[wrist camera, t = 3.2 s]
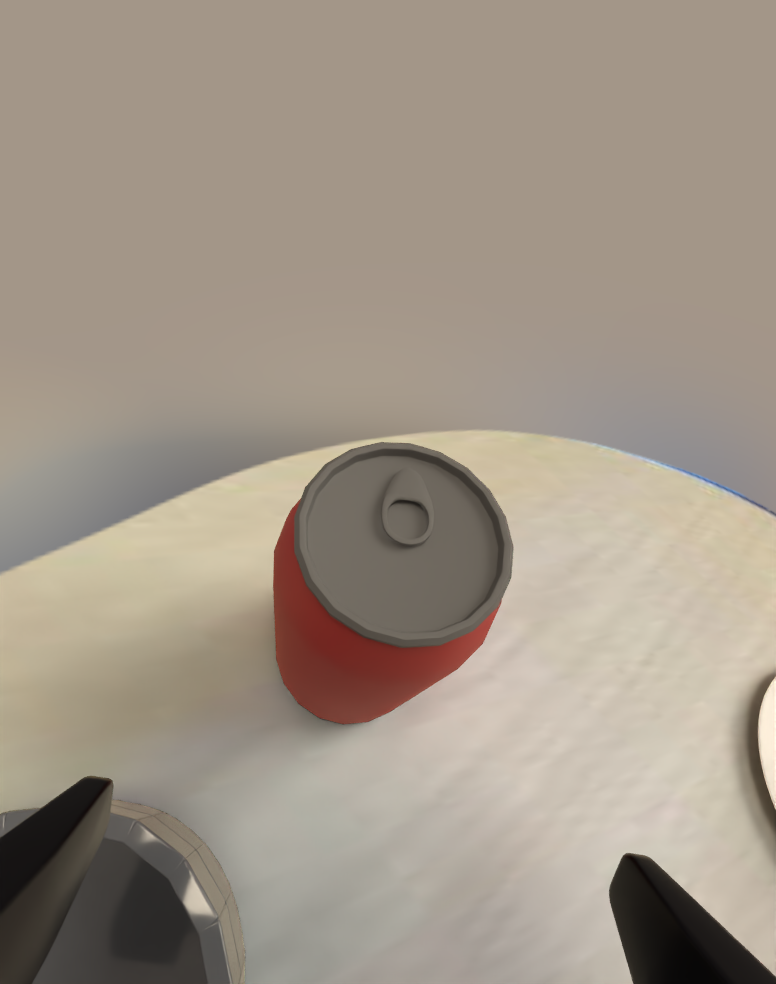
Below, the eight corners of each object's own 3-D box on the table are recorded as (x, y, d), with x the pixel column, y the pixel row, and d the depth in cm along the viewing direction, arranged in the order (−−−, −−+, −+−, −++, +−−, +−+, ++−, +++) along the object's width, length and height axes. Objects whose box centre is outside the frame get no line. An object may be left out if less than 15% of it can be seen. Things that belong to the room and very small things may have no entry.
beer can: (420, 586, 24) (521, 445, 14) (417, 731, 20) (550, 684, 10) (289, 570, 23) (295, 407, 13) (262, 719, 19) (242, 654, 9)
